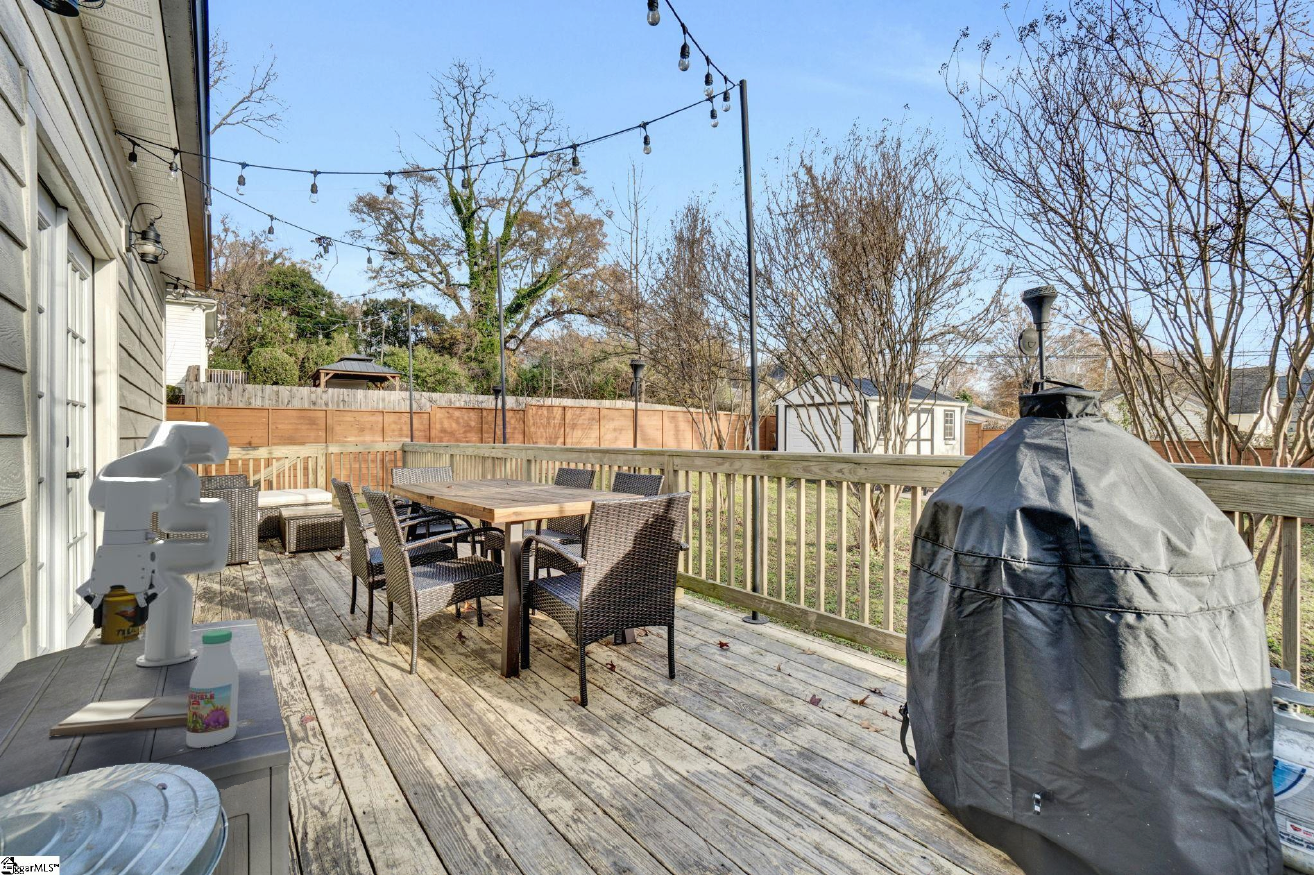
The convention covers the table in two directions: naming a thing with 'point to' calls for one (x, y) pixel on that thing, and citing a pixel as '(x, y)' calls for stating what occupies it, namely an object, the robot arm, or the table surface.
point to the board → (125, 715)
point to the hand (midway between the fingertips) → (120, 625)
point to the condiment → (118, 619)
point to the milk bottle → (213, 693)
